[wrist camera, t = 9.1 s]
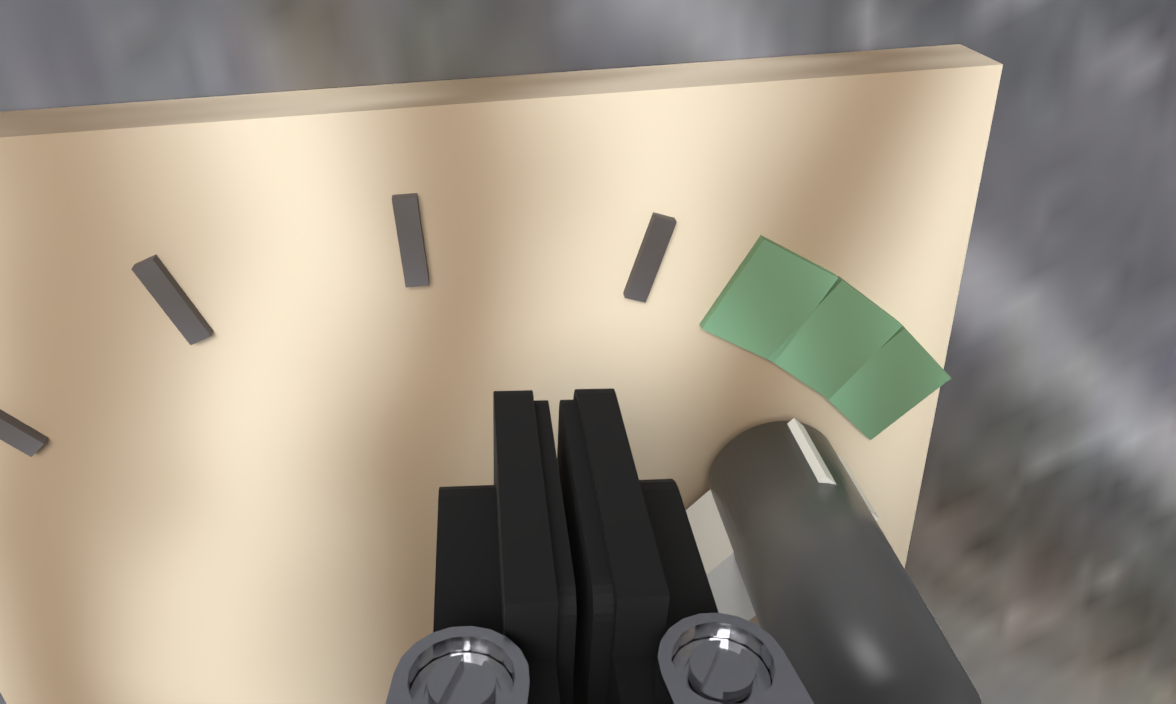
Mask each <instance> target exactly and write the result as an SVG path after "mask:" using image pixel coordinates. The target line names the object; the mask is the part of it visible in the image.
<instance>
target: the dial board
mask: <svg viewBox="0 0 1176 704" xmlns="http://www.w3.org/2000/svg"><path fill="white" fill-rule="evenodd" d="M1002 67H1003V64H1001V63H999V62H997V61H995V60H992V59H990V58H988V57H986V56H984V55H982V54H980V53H978V52H976V51H973V50H971V49H969V48H967V47H965V46H963V45H961V44H955V45H941V46H927V47H913V48H899V49H884V50H870V51H856V52H842V53H828V54H813V55H799V56H785V57H771V58H757V59H742V60H728V61H714V62H700V63H686V64H671V65H657V66H643V67H629V68H615V69H600V70H586V71H572V72H558V73H544V74H529V75H515V76H501V77H487V78H473V79H458V80H444V81H430V82H416V83H402V84H387V85H373V86H359V87H345V88H331V89H316V90H302V91H288V92H274V93H260V94H245V95H231V96H217V97H203V98H189V99H174V100H160V101H146V102H132V103H118V104H103V105H89V106H75V107H61V108H47V109H32V110H18V111H4V112H0V693H1V694H2V696H3V698H4V700H5V701H6V703H7V704H386V700H387V696H388V692H389V689H390V685H391V681H392V678H393V674H394V672H395V670H396V667H397V665H398V663H399V661H400V659H401V657H402V656H403V655H404V654H405V653H406V652H407V651H408V650H409V649H410V647H411V646H412V645H413V644H414V643H416V642H417V641H419V640H421V639H422V638H424V637H426V636H427V635H429V634H431V633H433V622H434V596H435V571H436V545H437V520H438V495H439V487H449V486H478V485H494V445H493V392H494V391H517V390H532V391H533V396H534V400H548V402H549V408H550V414H551V421H552V428H553V435H554V442H555V449H556V456H557V447H558V420H559V403H560V400H573V396H574V391H575V389H607V388H613V389H614V390H615V392H616V396H617V399H618V403H619V407H620V410H621V414H622V418H623V422H624V425H625V429H626V433H627V437H628V440H629V444H630V448H631V452H632V455H633V459H634V463H635V467H636V470H637V474H638V478H639V480H649V479H673V480H674V481H676V484H677V486H678V488H679V491H680V494H681V497H682V501H683V504H684V507H685V510H687V509H688V508H689V507H690V506H691V505H693V504H694V503H695V502H696V501H697V500H698V499H700V498H701V497H702V496H703V495H704V494H705V493H707V492H708V491H709V490H710V489H709V476H710V471H711V468H712V465H713V463H714V461H715V459H716V457H717V456H718V454H719V453H720V452H721V450H722V449H723V448H724V447H725V446H726V445H727V444H728V443H729V442H730V441H731V440H733V439H734V438H735V437H736V436H738V435H739V434H741V433H743V432H744V431H746V430H748V429H750V428H753V427H755V426H758V425H761V424H765V423H769V422H775V421H791V420H792V419H793V418H795V419H796V420H797V421H798V422H800V423H804V424H807V425H810V426H812V427H814V428H816V429H817V430H818V431H820V432H821V433H822V434H823V435H824V436H825V437H826V438H827V439H828V441H829V442H830V444H831V445H832V447H833V449H834V450H835V452H836V453H837V454H838V455H839V456H840V457H842V458H843V459H844V461H845V462H846V464H847V466H848V467H849V469H850V471H851V472H852V474H853V476H854V478H855V479H856V481H857V483H858V484H859V486H860V488H861V489H862V491H863V493H864V494H865V496H866V498H867V499H868V501H869V503H870V504H871V506H872V508H873V509H874V511H875V513H876V514H877V516H878V518H879V519H878V520H877V521H876V522H877V523H878V525H879V527H880V528H881V530H882V532H883V533H884V535H885V537H886V539H887V540H888V542H889V544H890V545H891V547H892V549H893V550H894V552H895V554H896V555H897V557H898V559H899V561H900V562H901V564H902V566H903V567H904V569H905V564H906V559H907V553H908V548H909V543H910V538H911V533H912V528H913V523H914V518H915V512H916V507H917V502H918V497H919V492H920V487H921V482H922V477H923V471H924V466H925V461H926V456H927V451H928V446H929V441H930V436H931V430H932V425H933V420H934V415H935V410H936V405H937V400H938V395H939V389H940V386H942V385H943V384H944V383H946V382H947V381H948V380H950V379H951V377H950V376H949V375H948V374H947V373H946V372H945V371H944V364H945V359H946V354H947V348H948V343H949V338H950V333H951V328H952V323H953V318H954V313H955V307H956V302H957V297H958V292H959V287H960V282H961V277H962V272H963V266H964V261H965V256H966V251H967V246H968V241H969V236H970V231H971V225H972V220H973V215H974V210H975V205H976V200H977V195H978V190H979V184H980V179H981V174H982V169H983V164H984V159H985V154H986V149H987V143H988V138H989V133H990V128H991V123H992V118H993V113H994V108H995V102H996V97H997V92H998V87H999V82H1000V77H1001V72H1002ZM749 621H750V622H752V623H755V624H757V625H758V626H759V627H760V625H759V622H758V619H757V617H756V615H755V616H754V617H753V618H752V619H750V620H749Z"/></svg>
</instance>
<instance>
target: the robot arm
mask: <svg viewBox="0 0 1176 704" xmlns="http://www.w3.org/2000/svg"><path fill="white" fill-rule="evenodd" d="M493 445H494V485H478V486H449V487H439V495H438V520H437V545H436V571H435V596H434V622H433V633H431V634H429V635H427V636H426V637H424V638H422V639H421V640H419V641H417V642H416V643H414V644H413V645H412V646H411V647H410V649H409V650H408V651H407V652H406V653H405V654H404V655H403V656H402V657H401V659H400V661H399V663H398V665H397V667H396V670H395V672H394V674H393V678H392V681H391V685H390V689H389V692H388V696H387V700H386V704H815V703H814V702H813V701H812V699H811V697H810V696H809V694H808V692H807V690H806V689H805V687H804V685H803V683H802V682H801V680H800V678H799V677H798V675H797V673H796V671H795V670H794V668H793V666H792V665H791V663H790V661H789V659H788V658H787V656H786V654H785V652H784V651H783V649H782V648H781V647H780V645H779V644H778V643H777V642H776V640H775V639H774V638H773V637H772V636H771V635H770V634H769V633H767V632H766V631H765V630H763V629H762V628H761V627H759V626H758V625H757V624H755V623H752V622H750V621H748V620H745V619H743V618H741V617H738V616H734V615H729V614H723V613H719V612H718V609H717V606H716V603H715V599H714V596H713V593H712V590H711V587H710V584H709V581H708V578H707V575H706V572H705V569H704V565H703V562H702V559H701V556H700V553H699V550H698V547H697V544H696V541H695V538H694V535H693V531H692V528H691V525H690V522H689V519H688V516H687V513H686V510H685V507H684V504H683V501H682V497H681V494H680V491H679V488H678V486H677V484H676V481H674V480H673V479H649V480H639V478H638V474H637V470H636V467H635V463H634V459H633V455H632V452H631V448H630V444H629V440H628V437H627V433H626V429H625V425H624V422H623V418H622V414H621V410H620V407H619V403H618V399H617V396H616V392H615V390H614V389H613V388H607V389H575V391H574V396H573V400H560V403H559V420H558V447H557V456H556V449H555V442H554V435H553V428H552V421H551V414H550V408H549V402H548V400H534V396H533V391H532V390H517V391H494V392H493Z"/></svg>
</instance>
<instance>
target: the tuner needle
mask: <svg viewBox="0 0 1176 704" xmlns="http://www.w3.org/2000/svg"><path fill="white" fill-rule="evenodd" d="M709 489H710V490H709V491H708V492H707V493H705V494H704V495H703V496H702V497H701V498H700V499H698V500H697V501H696V502H695V503H694V504H693V505H691V506H690V507H689V508H688V509H687V510H686V513H687V516H688V519H689V522H690V525H691V528H692V531H693V535H694V538H695V541H696V544H697V547H698V550H699V553H700V556H701V559H702V562H703V565H704V569H705V572H706V575H707V578H708V581H709V584H710V587H711V590H712V593H713V596H714V599H715V603H716V606H717V609H718V612H719V613H723V614H729V615H734V616H738V617H741V618H743V619H745V620H748V621H749V620H750V619H752V618H753V617H754V616H755V615H756V617H757V619H758V622H759V625H760V627H761V628H762V629H763V630H765V631H766V632H767V633H769V634H770V635H771V636H772V637H773V638H774V639H775V640H776V642H777V643H778V644H779V645H780V647H781V648H782V649H783V651H784V652H785V654H786V656H787V658H788V659H789V661H790V663H791V665H792V666H793V668H794V670H795V671H796V673H797V675H798V677H799V678H800V680H801V682H802V683H803V685H804V687H805V689H806V690H807V692H808V694H809V696H810V697H811V699H812V701H813V702H814V703H815V704H981V700H980V697H979V695H978V693H977V691H976V689H975V688H974V686H973V684H972V683H971V681H970V679H969V678H968V676H967V674H966V672H965V671H964V669H963V667H962V666H961V664H960V662H959V661H958V659H957V657H956V655H955V654H954V652H953V650H952V649H951V647H950V645H949V644H948V642H947V640H946V639H945V637H944V635H943V633H942V632H941V630H940V628H939V627H938V625H937V623H936V622H935V620H934V618H933V616H932V615H931V613H930V611H929V610H928V608H927V606H926V605H925V603H924V601H923V600H922V598H921V596H920V594H919V593H918V591H917V589H916V588H915V586H914V584H913V583H912V581H911V579H910V578H909V576H908V574H907V572H906V571H905V569H904V567H903V566H902V564H901V562H900V561H899V559H898V557H897V555H896V554H895V552H894V550H893V549H892V547H891V545H890V544H889V542H888V540H887V539H886V537H885V535H884V533H883V532H882V530H881V528H880V527H879V525H878V523H877V522H876V521H877V520H878V519H879V518H878V516H877V514H876V513H875V511H874V509H873V508H872V506H871V504H870V503H869V501H868V499H867V498H866V496H865V494H864V493H863V491H862V489H861V488H860V486H859V484H858V483H857V481H856V479H855V478H854V476H853V474H852V472H851V471H850V469H849V467H848V466H847V464H846V462H845V461H844V459H843V458H842V457H840V456H839V455H838V454H837V453H836V452H835V450H834V449H833V447H832V445H831V444H830V442H829V441H828V439H827V438H826V437H825V436H824V435H823V434H822V433H821V432H820V431H818V430H817V429H816V428H814V427H812V426H810V425H807V424H804V423H800V422H798V421H797V420H796V419H795V418H793V419H792V420H791V421H775V422H769V423H765V424H761V425H758V426H755V427H753V428H750V429H748V430H746V431H744V432H743V433H741V434H739V435H738V436H736V437H735V438H734V439H733V440H731V441H730V442H729V443H728V444H727V445H726V446H725V447H724V448H723V449H722V450H721V452H720V453H719V454H718V456H717V457H716V459H715V461H714V463H713V465H712V468H711V471H710V476H709Z"/></svg>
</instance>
